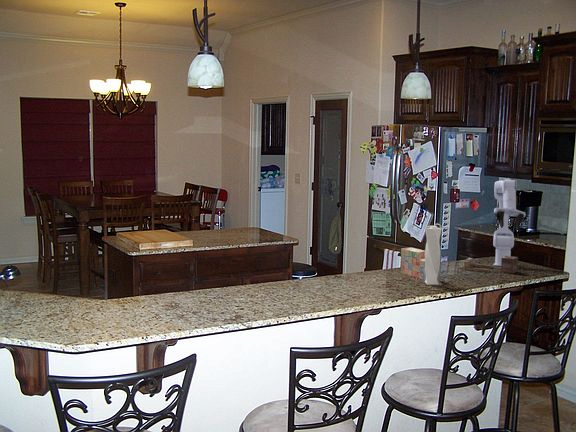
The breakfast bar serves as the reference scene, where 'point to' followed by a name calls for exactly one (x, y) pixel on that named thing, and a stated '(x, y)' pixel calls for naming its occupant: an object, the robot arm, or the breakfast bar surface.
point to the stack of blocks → (413, 262)
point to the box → (509, 264)
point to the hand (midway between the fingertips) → (509, 228)
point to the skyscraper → (432, 255)
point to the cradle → (470, 263)
